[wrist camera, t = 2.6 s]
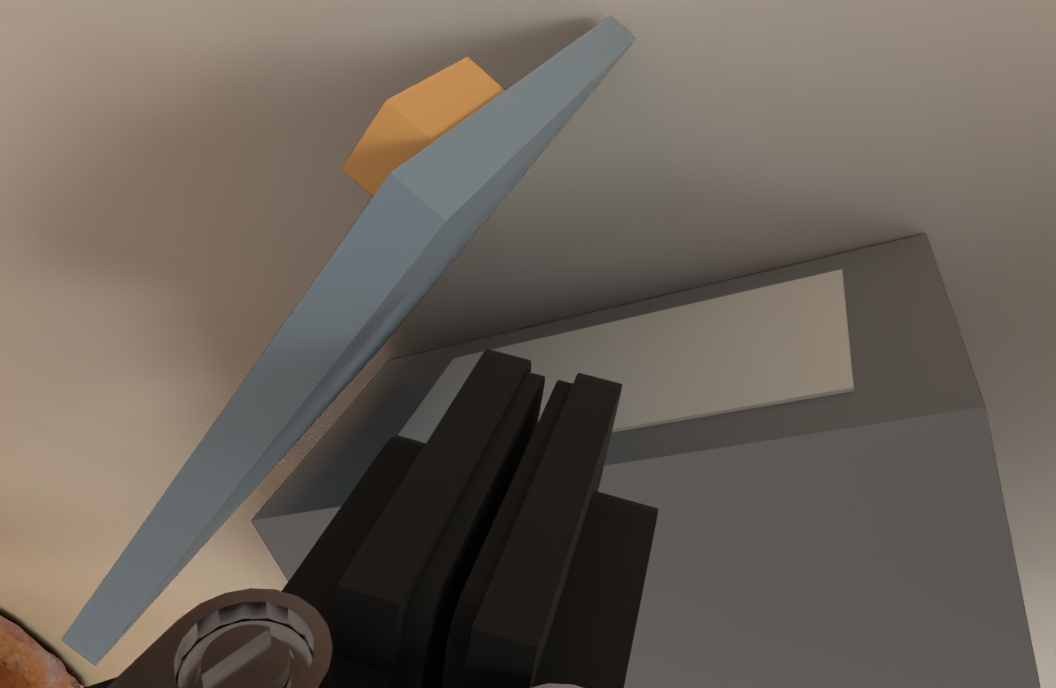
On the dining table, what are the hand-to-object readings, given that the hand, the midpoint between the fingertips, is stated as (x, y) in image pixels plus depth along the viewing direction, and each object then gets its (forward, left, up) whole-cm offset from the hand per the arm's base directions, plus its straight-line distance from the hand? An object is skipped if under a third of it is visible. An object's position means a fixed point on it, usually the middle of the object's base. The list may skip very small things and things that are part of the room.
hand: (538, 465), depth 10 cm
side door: (+6, -1, -13) cm, 14 cm away
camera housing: (+4, +9, -13) cm, 17 cm away
